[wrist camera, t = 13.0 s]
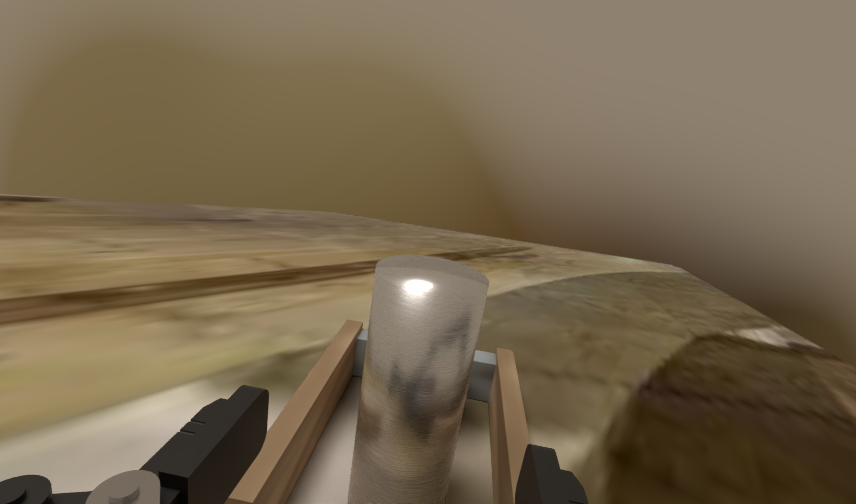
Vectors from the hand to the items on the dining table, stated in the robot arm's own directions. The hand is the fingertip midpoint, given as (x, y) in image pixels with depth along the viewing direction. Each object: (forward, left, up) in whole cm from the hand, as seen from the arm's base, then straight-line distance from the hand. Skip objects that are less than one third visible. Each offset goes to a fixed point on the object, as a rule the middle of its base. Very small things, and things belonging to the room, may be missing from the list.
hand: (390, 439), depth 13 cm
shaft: (0, -6, -9) cm, 11 cm away
